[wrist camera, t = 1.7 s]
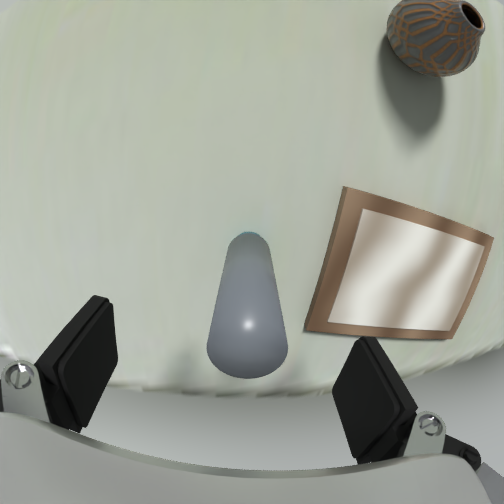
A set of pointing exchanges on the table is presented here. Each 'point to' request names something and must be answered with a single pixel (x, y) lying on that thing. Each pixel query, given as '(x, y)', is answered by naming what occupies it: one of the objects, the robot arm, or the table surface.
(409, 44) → the vase
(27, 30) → the table surface
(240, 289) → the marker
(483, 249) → the brown picture frame
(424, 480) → the robot arm
